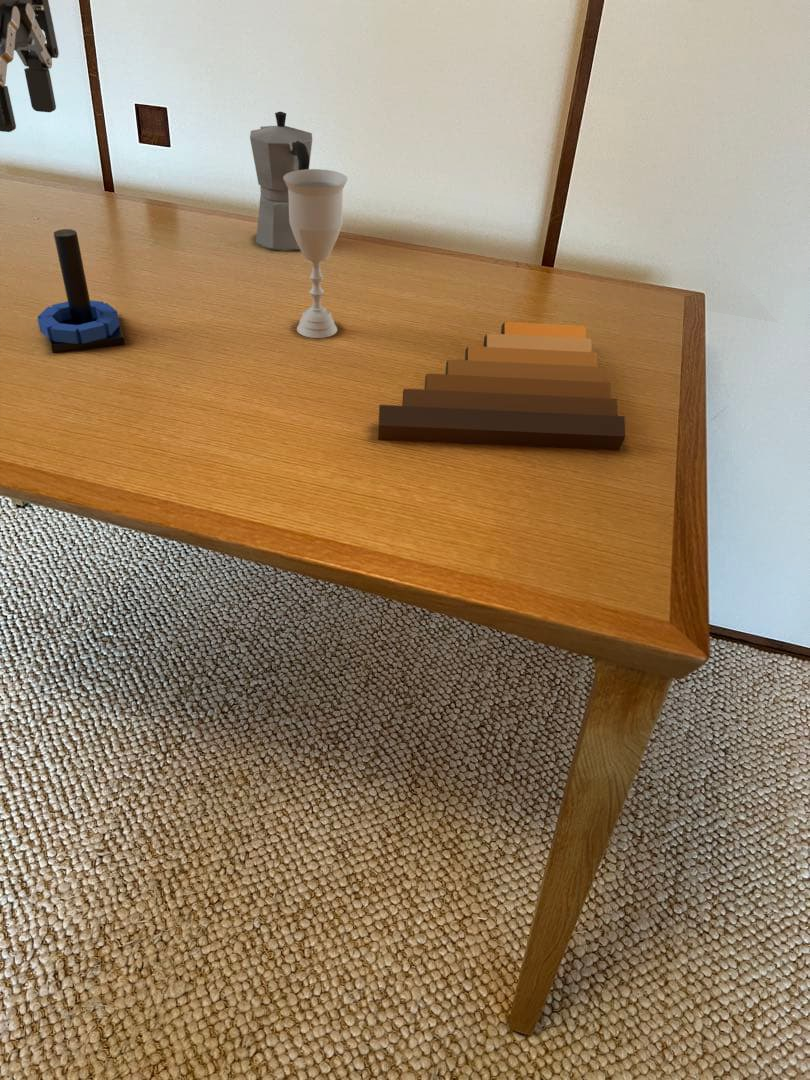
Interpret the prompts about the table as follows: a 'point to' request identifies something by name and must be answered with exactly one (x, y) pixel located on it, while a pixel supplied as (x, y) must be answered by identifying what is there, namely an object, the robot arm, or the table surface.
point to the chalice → (316, 234)
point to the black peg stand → (77, 293)
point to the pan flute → (514, 395)
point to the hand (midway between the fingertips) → (25, 120)
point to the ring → (76, 333)
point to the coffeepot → (277, 179)
